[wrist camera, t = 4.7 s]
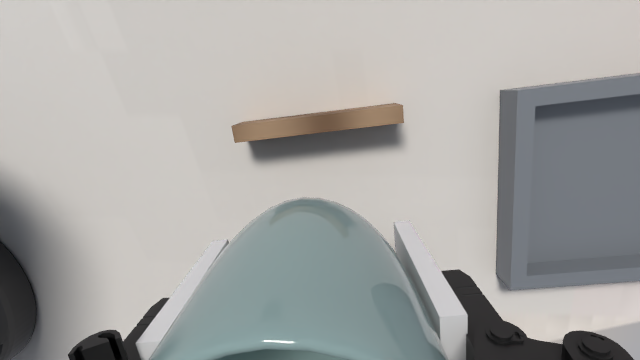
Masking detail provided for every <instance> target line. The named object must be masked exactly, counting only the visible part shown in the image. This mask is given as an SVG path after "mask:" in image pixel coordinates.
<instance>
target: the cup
mask: <svg viewBox="0 0 640 360" xmlns="http://www.w3.org/2000/svg"><path fill="white" fill-rule="evenodd" d="M148 360H448V358H447V356H446V353H445V351H444V349H443V346H442V344H441V342H440V340H439V337H438V335H437V333H436V331H435V328H434V326H433V324H432V322H431V320H430V317H429V315H428V313H427V311H426V309H425V306H424V304H423V302H422V300H421V298H420V296H419V294H418V292H417V290H416V287H415V285H414V283H413V281H412V280H411V278H410V276H409V274H408V272H407V270H406V268H405V267H404V265H403V264H402V262H401V260H400V259H399V257H398V256H397V254H396V253H395V252H394V250H393V249H392V247H391V246H390V245H389V243H388V242H387V241H386V239H385V238H384V237H383V235H382V234H381V233H380V232H379V231H378V230H377V229H376V228H374V227H373V226H372V225H371V224H370V223H369V222H368V221H367V220H366V219H365V218H364V217H362V216H361V215H359V214H358V213H356V212H355V211H353V210H352V209H350V208H348V207H345V206H343V205H341V204H339V203H337V202H334V201H330V200H326V199H322V198H309V197H302V198H297V199H292V200H287V201H284V202H282V203H280V204H277V205H275V206H273V207H271V208H269V209H268V210H266V211H265V212H263V213H262V214H260V215H259V216H258V217H256V218H255V219H253V220H252V221H251V222H250V223H249V224H248V225H246V226H245V227H244V228H243V229H242V230H241V231H240V232H239V233H238V234H237V235H236V236H235V237H234V238H233V239H232V240H231V242H230V243H229V244H228V245H227V246H226V247H225V248H224V250H223V251H222V252H221V253H220V255H219V256H218V257H217V259H216V260H215V261H214V263H213V264H212V265H211V267H210V268H209V270H208V271H207V272H206V274H205V275H204V277H203V278H202V280H201V281H200V283H199V284H198V285H197V287H196V288H195V290H194V291H193V293H192V294H191V296H190V297H189V299H188V300H187V302H186V303H185V305H184V306H183V307H182V309H181V310H180V312H179V313H178V315H177V316H176V318H175V319H174V321H173V322H172V324H171V325H170V327H169V328H168V330H167V331H166V333H165V334H164V336H163V338H162V339H161V341H160V342H159V344H158V345H157V347H156V348H155V350H154V351H153V353H152V354H151V356H150V357H149V359H148Z"/></svg>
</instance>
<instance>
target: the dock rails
mask: <svg viewBox="0 0 640 360" xmlns="http://www.w3.org/2000/svg"><path fill="white" fill-rule="evenodd" d="M398 123H404V119H403V105H400V104H396V103H393V104H385V105H377V106H369V107H361V108H353V109H344V110H336V111H328V112H320V113H312V114H304V115H296V116H288V117H280V118H271V119H263V120H255V121H247V122H242V123H239V124H236V125H233V126H232V131H233V136H234V141H235V143H237V142H246V141H254V140H262V139H271V138H279V137H288V136H296V135H305V134H313V133H322V132H330V131H339V130H347V129H356V128H364V127H373V126H381V125H390V124H398Z"/></svg>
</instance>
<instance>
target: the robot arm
mask: <svg viewBox="0 0 640 360" xmlns="http://www.w3.org/2000/svg"><path fill="white" fill-rule="evenodd" d="M394 235H395V250H396V254H397V256H398V257H399V259H400V260H401V262H402V264H403V265H404V267H405V268H406V270H407V272H408V274H409V276H410V278H411V280H412V281H413V283H414V285H415V287H416V290H417V292H418V294H419V296H420V298H421V300H422V302H423V304H424V306H425V309H426V311H427V313H428V315H429V317H430V320H431V322H432V324H433V326H434V328H435V331H436V333H437V335H438V337H439V340H440V342H441V344H442V346H443V349H444V351H445V353H446V356H447V358H448V360H634V359H633V358H632V357H631V356H630V355H629V354H628V352H627V351H626V350H625V349H623V348H622V347H621V346H620V345H619V344H618V343H615V342H614V341H612V340H610V339H609V338H607V337H605V336H602V335H599V334H596V333H593V332H587V331H572V332H569V333H568V334H566V335H565V336H564V339H563V344H557V343H551V342H544V341H538V340H534V339H530V338H527V336H526V334H525V333H524V332H523V331H522V330H521V329H520V328H519V327H517V326H515V325H513V324H511V323H509V322H505V321H503V320H502V319H501V317H500V316H499V315H498V313H497V312H496V311H495V309H494V308H493V307H492V305H491V304H490V303H489V301H488V300H487V299H486V297H485V296H484V295H483V294H482V292H481V291H480V289H479V288H478V287H477V285H476V284H475V283H474V281H473V280H472V279H471V277H470V276H468V275H467V274H465V273H464V272H462V271H460V270H448V271H441V270H440V269H439V267H438V266H437V264H436V262H435V261H434V259H433V257H432V256H431V254H430V253H429V251H428V249H427V248H426V246H425V244H424V243H423V241H422V239H421V238H420V236H419V235H418V233H417V231H416V230H415V228H414V226H413V225H412V223H411V222H410V220H409V221H399V222H394ZM228 244H229V242H228V239H226V240H216V241H212V243H211V244H210V245H209V247H208V248H207V249H206V251H205V252H204V253H203V255H202V256H201V257H200V258H199V260H198V261H197V262H196V264H195V265H194V266H193V268H192V269H191V270H190V272H189V273H188V274H187V276H186V277H185V278H184V280H183V281H182V282H181V284H180V285H179V286H178V288H177V289H176V290H175V292H174V293H173V294H172V296H171V297H170V298H163V299H161V300H160V301H159V302H157V303H156V304H155V305H153V306H152V307H151V308H150V309H149V310H148V312H147V313H146V314H145V315H144V317H143V319H141V320H140V322H139V323H138V324H137V327H135V328H134V329H133V330H132V332H131V333H130V334H129V335H128V336H127V338H126V339H125V340H124V341H122V338H121V335H120V333H119V332H118V331H116V330H106V331H101V332H98V333H96V334H94V335H91V336H89V337H88V338H86V339H84V340H83V341H81V342H80V343H78V344H77V345H76V346H75V347H74V348H73V349H72V350H71V351H70V353H69V354H68V356H69V359H70V360H148V359H149V357H150V356H151V354H152V353H153V351H154V350H155V348H156V347H157V345H158V344H159V342H160V341H161V339H162V338H163V336H164V334H165V333H166V331H167V330H168V328H169V327H170V325H171V324H172V322H173V321H174V319H175V318H176V316H177V315H178V313H179V312H180V310H181V309H182V307H183V306H184V305H185V303H186V302H187V300H188V299H189V297H190V296H191V294H192V293H193V291H194V290H195V288H196V287H197V285H198V284H199V283H200V281H201V280H202V278H203V277H204V275H205V274H206V272H207V271H208V270H209V268H210V267H211V265H212V264H213V263H214V261H215V260H216V259H217V257H218V256H219V255H220V253H221V252H222V251H223V250H224V248H225V247H226V246H227V245H228ZM35 321H36V306H35V300H34V295H33V292H32V289H31V286H30V284H29V281H28V279H27V277H26V275H25V273H24V272H23V270H22V268H21V267H20V265H19V264H18V262H17V261H16V259H15V258H14V257H13V256H12V254H11V253H10V252H9V251H8V250H7V249H6V248H5V247H4V246H3V245H2V244H1V243H0V360H10V359H11V358H12V357H14V356H15V355H16V354H17V353H18V352H20V351H21V350H22V349H23V348H24V347H25V345H26V344H27V343H28V341H29V339H30V337H31V335H32V333H33V330H34V326H35Z"/></svg>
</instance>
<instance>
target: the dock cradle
mask: <svg viewBox="0 0 640 360" xmlns="http://www.w3.org/2000/svg"><path fill="white" fill-rule="evenodd" d="M496 274H497V275H498V277H499V278H500V279H501V280H502V281H503V282H504V284H505V285H506V286H507V287H508V288H509V289H510V290H521V289H535V288H548V287H562V286H576V285H589V284H603V283H616V282H630V281H640V73H636V74H628V75H620V76H612V77H604V78H596V79H588V80H580V81H572V82H563V83H555V84H547V85H539V86H531V87H523V88H515V89H507V90H500V131H499V174H498V217H497V260H496Z"/></svg>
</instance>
